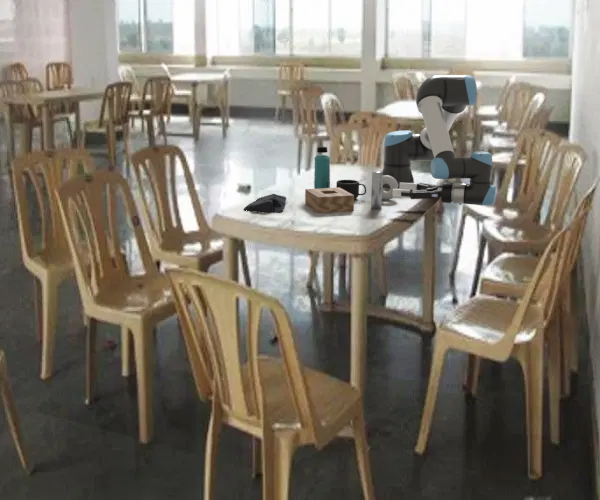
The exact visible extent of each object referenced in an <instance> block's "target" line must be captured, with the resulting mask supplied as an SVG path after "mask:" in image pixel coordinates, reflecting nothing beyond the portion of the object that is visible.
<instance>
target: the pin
mask: <svg viewBox="0 0 600 500" xmlns="http://www.w3.org/2000/svg"><path fill="white" fill-rule="evenodd" d="M382 179H383V172H382V171H379V170H375V171H372V172H371V193H370V194H371V202H370V209H371V210H381V209H382V204H383V203H382V202H383V199H382Z"/></svg>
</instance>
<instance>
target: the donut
mask: <svg viewBox="0 0 600 500" xmlns="http://www.w3.org/2000/svg"><path fill="white" fill-rule="evenodd" d="M384 184H389V186H390V187H389V190H388V191H387V190H384V186H383V185H384ZM393 189H399V188H398V183H397V181H396V180H395V179H394V178H393V177H391V176H388V175H383V179H382V200H385V201H387V200H393V199H394V198H395V197H393V196H392V195H393Z"/></svg>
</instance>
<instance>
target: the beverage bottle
mask: <svg viewBox="0 0 600 500" xmlns="http://www.w3.org/2000/svg"><path fill="white" fill-rule="evenodd" d="M316 149H317V150H316V152H317V153H321V154H317V155H316V156H315V157H314V173H313V174H314V177H313V179H314V181H313V185H314V186H313V188H314V189H319V188H331V176H330V174H331V162H330V161H331V160H330V159H331V157H330V156H329V155H328V154H325V153H328V147H327V146H317V148H316ZM322 153H323V154H322Z"/></svg>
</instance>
